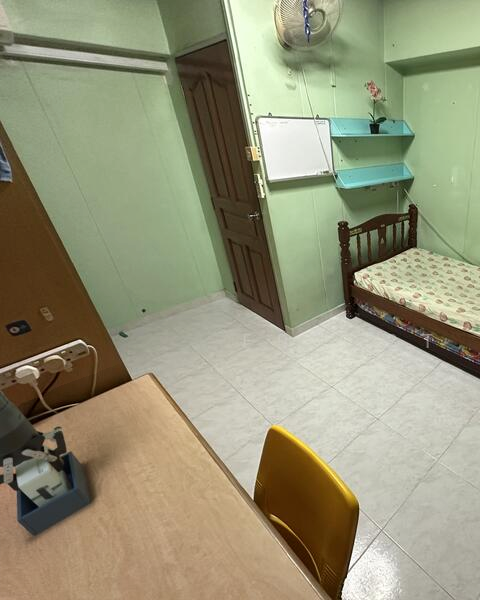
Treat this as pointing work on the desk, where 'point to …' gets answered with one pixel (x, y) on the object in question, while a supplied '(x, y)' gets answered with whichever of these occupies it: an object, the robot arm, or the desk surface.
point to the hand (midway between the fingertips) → (42, 477)
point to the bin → (55, 500)
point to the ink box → (41, 481)
